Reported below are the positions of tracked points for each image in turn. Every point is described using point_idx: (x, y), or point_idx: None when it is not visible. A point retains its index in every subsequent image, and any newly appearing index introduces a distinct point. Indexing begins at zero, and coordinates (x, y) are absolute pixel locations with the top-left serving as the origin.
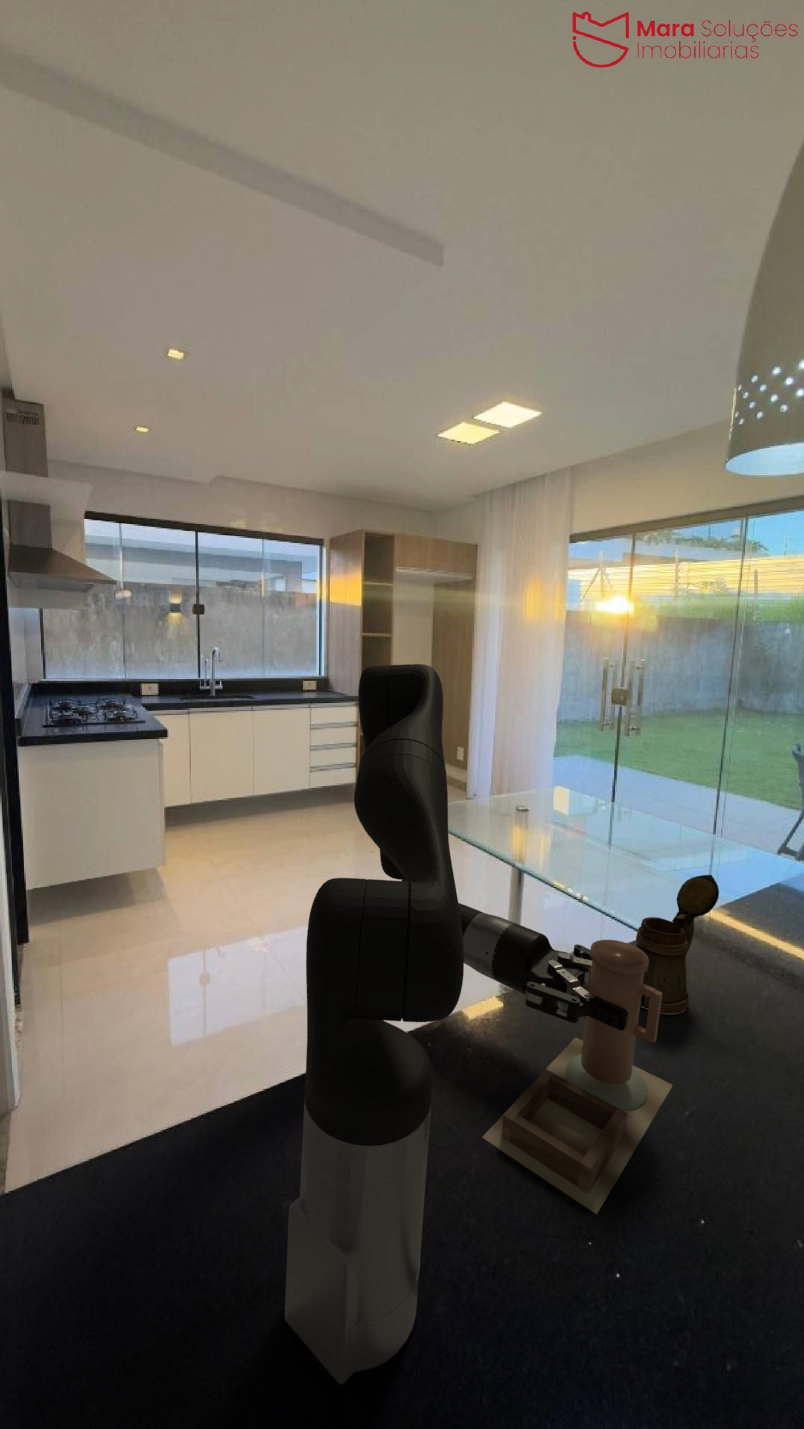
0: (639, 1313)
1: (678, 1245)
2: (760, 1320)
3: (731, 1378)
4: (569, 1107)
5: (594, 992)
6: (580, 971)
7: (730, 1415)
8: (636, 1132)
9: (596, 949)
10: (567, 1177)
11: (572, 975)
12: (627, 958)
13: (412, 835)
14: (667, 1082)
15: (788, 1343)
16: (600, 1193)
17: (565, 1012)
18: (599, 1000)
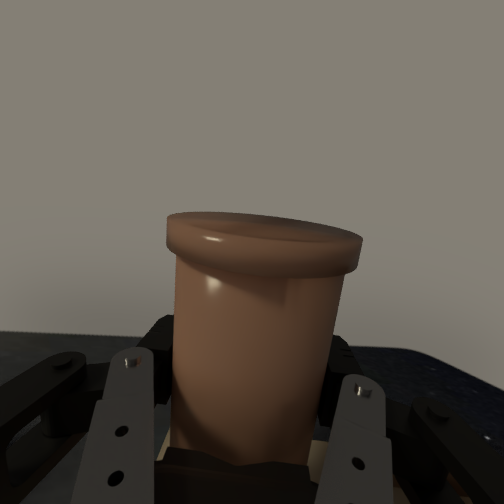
0: (484, 415)
1: (393, 399)
2: (383, 357)
3: (437, 367)
4: None
5: (323, 373)
6: (189, 466)
7: (455, 367)
8: (315, 449)
9: (307, 239)
10: None
11: (270, 490)
12: (276, 221)
13: None
14: (169, 429)
15: (379, 347)
16: None
17: (439, 501)
18: (342, 360)
